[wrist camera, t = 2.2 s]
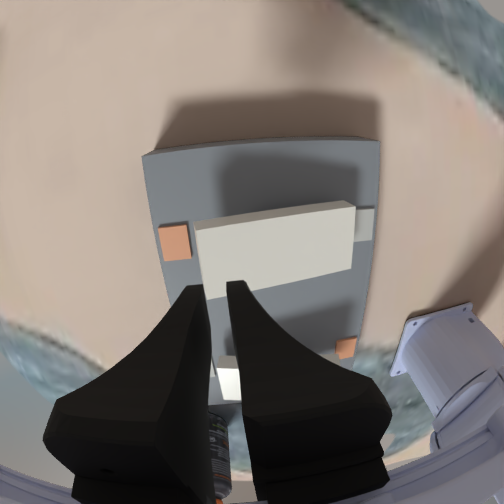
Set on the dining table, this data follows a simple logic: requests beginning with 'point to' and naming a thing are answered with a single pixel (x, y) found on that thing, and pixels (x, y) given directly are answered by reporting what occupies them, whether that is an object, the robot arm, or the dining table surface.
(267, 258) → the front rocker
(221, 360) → the back rocker
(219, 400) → the switch base
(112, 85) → the dining table surface
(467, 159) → the dining table surface
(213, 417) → the pill bottle
